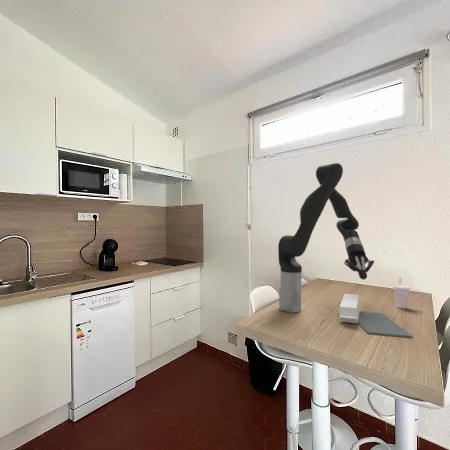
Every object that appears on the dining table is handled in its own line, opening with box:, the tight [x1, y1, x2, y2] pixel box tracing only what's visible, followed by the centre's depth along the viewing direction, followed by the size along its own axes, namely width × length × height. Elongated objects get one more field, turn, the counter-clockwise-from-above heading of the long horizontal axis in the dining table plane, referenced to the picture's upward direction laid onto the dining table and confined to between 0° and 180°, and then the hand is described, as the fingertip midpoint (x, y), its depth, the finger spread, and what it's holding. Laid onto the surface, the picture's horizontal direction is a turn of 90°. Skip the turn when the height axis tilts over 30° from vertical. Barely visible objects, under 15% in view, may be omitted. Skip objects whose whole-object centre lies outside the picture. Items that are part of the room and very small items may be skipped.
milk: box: [338, 293, 361, 324], centre depth 100 cm, size 6×6×22 cm
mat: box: [357, 311, 414, 339], centre depth 93 cm, size 22×14×1 cm, turn 169°
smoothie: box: [392, 276, 411, 310], centre depth 113 cm, size 6×6×14 cm
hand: (364, 278), depth 105 cm, fingers closed
